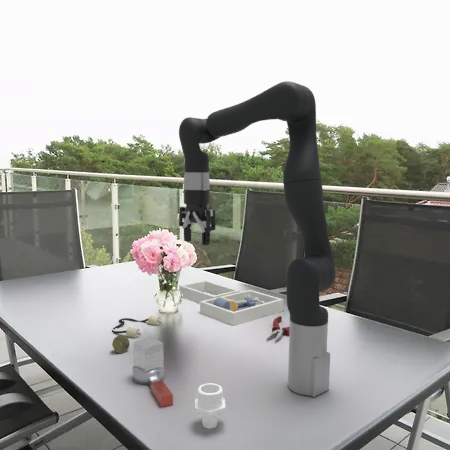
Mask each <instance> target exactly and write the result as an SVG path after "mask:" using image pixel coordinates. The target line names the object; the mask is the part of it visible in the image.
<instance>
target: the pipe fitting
mask: <svg viewBox="0 0 450 450" xmlns="http://www.w3.org/2000/svg"><path fill="white" fill-rule="evenodd" d="M223 390H224V389H223V387H222V386H221V385H220V384H217V383H214V382H213V383H212V382H209V383H203V384H201V385H200V386H198V388H197V398H195V399H194V412H195V413H197V414H201V416H202V419H201V421H202V426H203V427H204V428H205V429H209V430H211V429H215V428H216V427H217V426H218V421H219V420H218V419H219V417H218V416H219V414H220V415H221V414H222V413H225V412H226V399H225V398H224V397H223Z"/></svg>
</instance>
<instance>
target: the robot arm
mask: <svg viewBox="0 0 450 450" xmlns="http://www.w3.org/2000/svg"><path fill="white" fill-rule="evenodd" d="M268 120H270V121H272V120H279V121H282V122H286V124H287V130H288V137H289V151H288V155H287V158H286V161H285V165H284V170H283V175H282V183H283V191H284V193H283V194H284V199H285V204H286V208H287V209H288V212H289V214H290V215H291V218H292V219H293V221H294V222H295V224H296V226H297V228H298V230H299V233H300V234H301V239H302V244H303V254H304V256H300V257H297V258H295V259H293V260H292V261H291V262H290V263H289V265H288V267H287V271H286V305H287V310H288V312H289V327H290V331H289V336H288V337H289V338H288V341H289V342H288V367H287V368H288V372H287V373H288V377H287V387H288V388H289V390H290V391H292V392H294V393H295V394H298V395H302V396H310V397H312V398H315V397H317V396H319V395H321V394H323V393H325V392H327V391H329V389H330V370H331V369H330V368H331V366H330V365H331V353H330V352H329V351H328V332H329V331H328V330H329V327H328V326H329V312H328V309H327V308H325V307H324V306H321V305H320V293H321V292H324V291H327V290H328V289H330V288H331V287H332V286H333V285H334V282H335V281H336V265H335V260H334V256H333V251H332V246H331V242H330V237H329V231H328V226H327V225H328V224H327V216H326V210H325V202H324V192H323V191H324V190H323V183H322V182H323V181H322V176H321V175H322V174H321V167H320V160H319V159H320V157H319V149H318V141H317V105H316V98H315V96H314V93H313V91H312V90H311V89H310V88H309V87H307V86H306V85H302V84H300V83H296V82H295V81H287V80H285V81H282V82H279V83H277V84H275V85H273V86H270V87H269V88H268V89H266V90H263V91H262V92H261V93H260V92H259V94H257V95H255V96H253V97H251V98H249V99H247V100H245V101H241V102H239V103H238V104H235V105H231V106H228V107H225V108H222V109H219V110H216V111H213V112H211V113H210V114H209V115H208V116H207V118H199V117H192V116H191V117H190V116H189V117H186V118H184V119H183V120H182V121H181V122H180V124H179V128H178V136H179V138H178V139H179V142H180V146H181V149H182V154H183V157H184V174H183V177H184V178H183V204H184V205H185V206H179V211H178V226H179V227H182V230H183V241H184V242H187V243H188V242H191V241H192V227H193V224H197V225H198V226H199V227H200V229H201V231H202V232H201V245H202V246H209V245H210V242H211V232H212V231H216V211H215V210H216V209H208V205H210V190H211V189H210V187H211V186H210V184H211V182H210V168H209V166H210V159H209V154H208V153H206V152H205V151H202V149H201V147H200V146H201V145H200V144H209V143H212V142H214V141H216V140H218V139H220V138H222V137H227V136H229V135H233V134H236V133H239V132H241V131H243V130H245V129H246V128H248V127H249V126H251V125H253V124H255V123H258V122H262V121H268Z"/></svg>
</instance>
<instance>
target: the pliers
mask: <svg viewBox="0 0 450 450" xmlns="http://www.w3.org/2000/svg"><path fill="white" fill-rule="evenodd" d="M282 318H283V317H282V316H281V315H279V316H276V317H274V319H273V322H272V325H273V326H272V327H271V333H270V334H269V335H268V337H267V338H266V341H268V340H272V339H274V342H277V341H278V340H281V339H282V338H283V337H284V336H286V337H289V331H290V326H286V327H282V328H281V327H280V323H282V321H283V319H282Z"/></svg>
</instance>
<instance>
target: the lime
mask: <svg viewBox="0 0 450 450" xmlns="http://www.w3.org/2000/svg"><path fill="white" fill-rule="evenodd" d="M111 343H112V348H113V349H114V351H115V352H116V353H118V354H123V353H126V352H127V351H128V349H129V348H130V340H129V337H127V336H126V335H124V334H120V335H117V336H115V337H114V338H113V340H112V342H111Z"/></svg>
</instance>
